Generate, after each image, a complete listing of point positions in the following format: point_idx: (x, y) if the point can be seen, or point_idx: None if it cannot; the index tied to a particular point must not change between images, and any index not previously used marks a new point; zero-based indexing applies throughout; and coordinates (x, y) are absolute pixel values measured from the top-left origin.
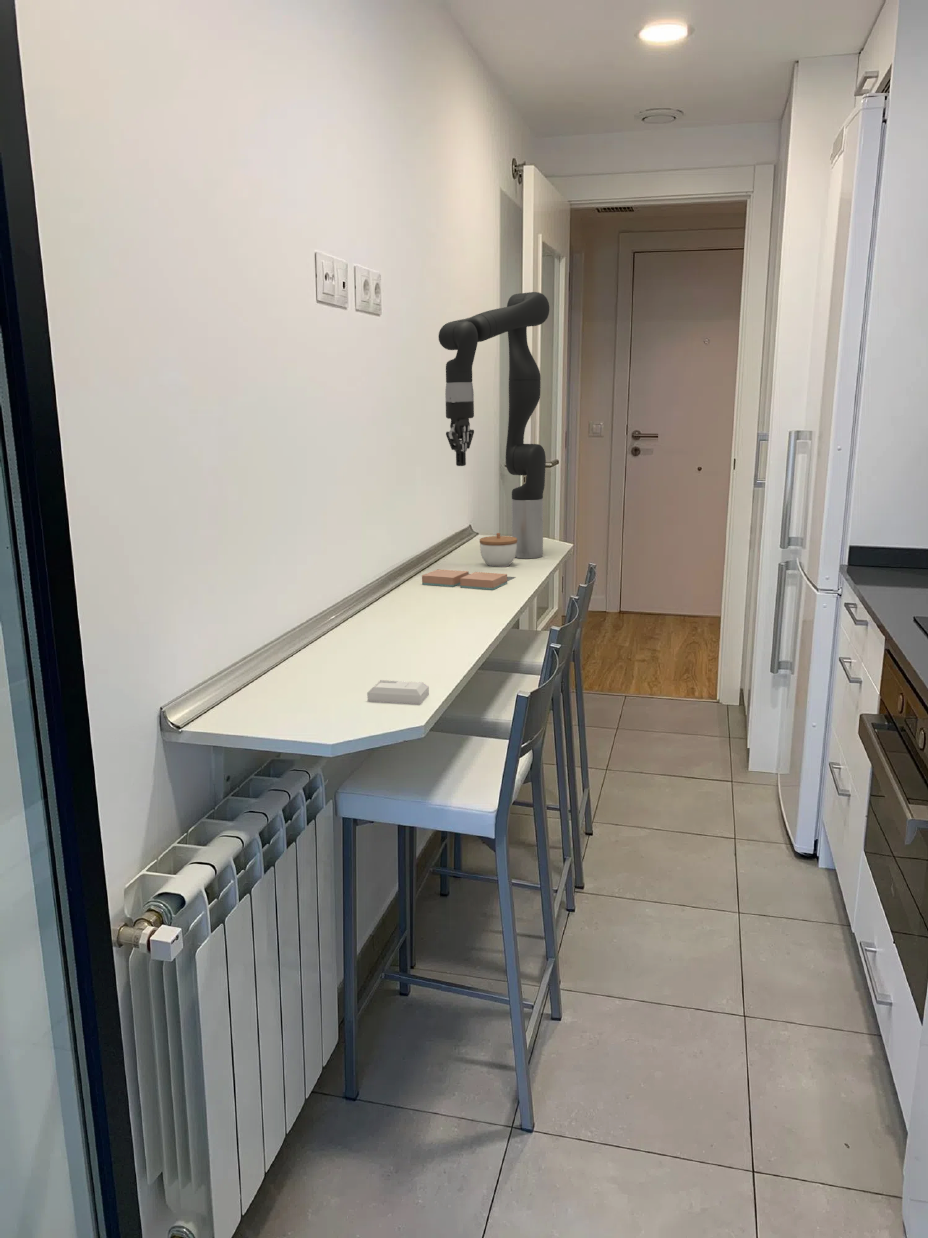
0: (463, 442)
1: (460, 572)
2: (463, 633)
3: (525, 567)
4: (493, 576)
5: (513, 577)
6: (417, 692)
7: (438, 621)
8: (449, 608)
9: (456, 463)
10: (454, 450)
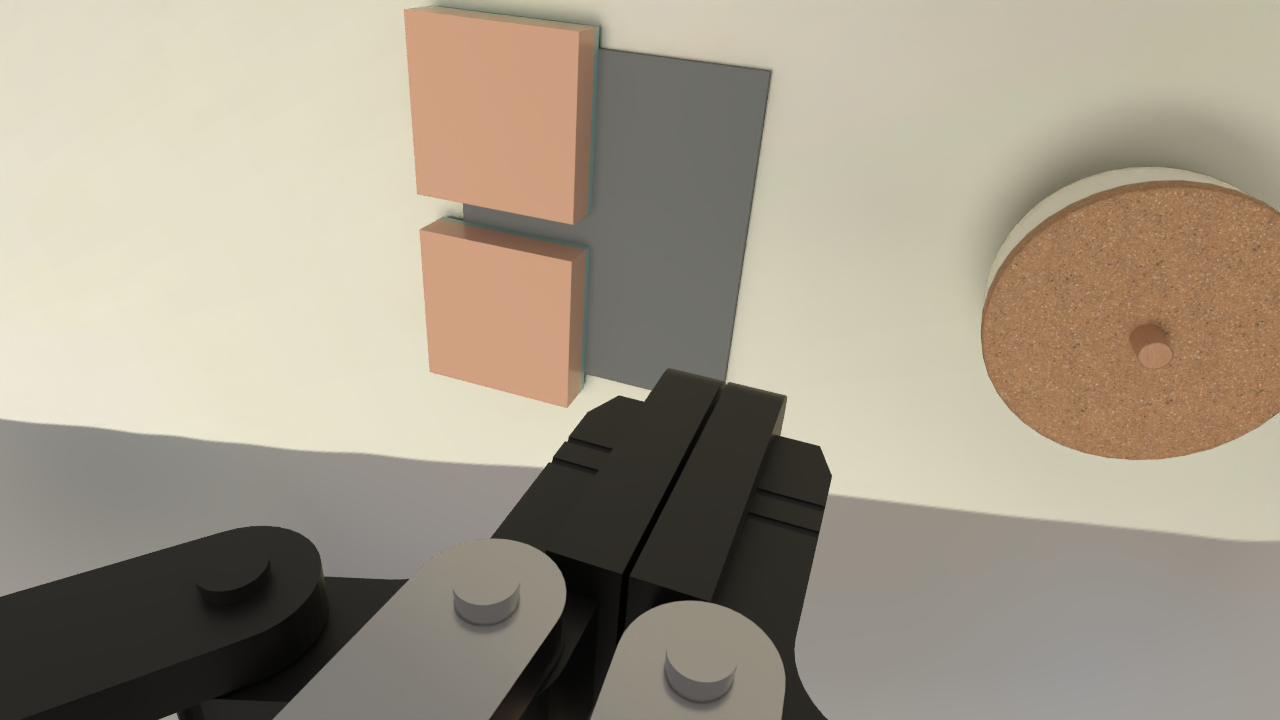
0: None
1: (536, 192)
2: (38, 360)
3: None
4: (502, 361)
5: None
6: None
7: (72, 270)
8: (192, 260)
9: (661, 384)
10: (441, 555)
